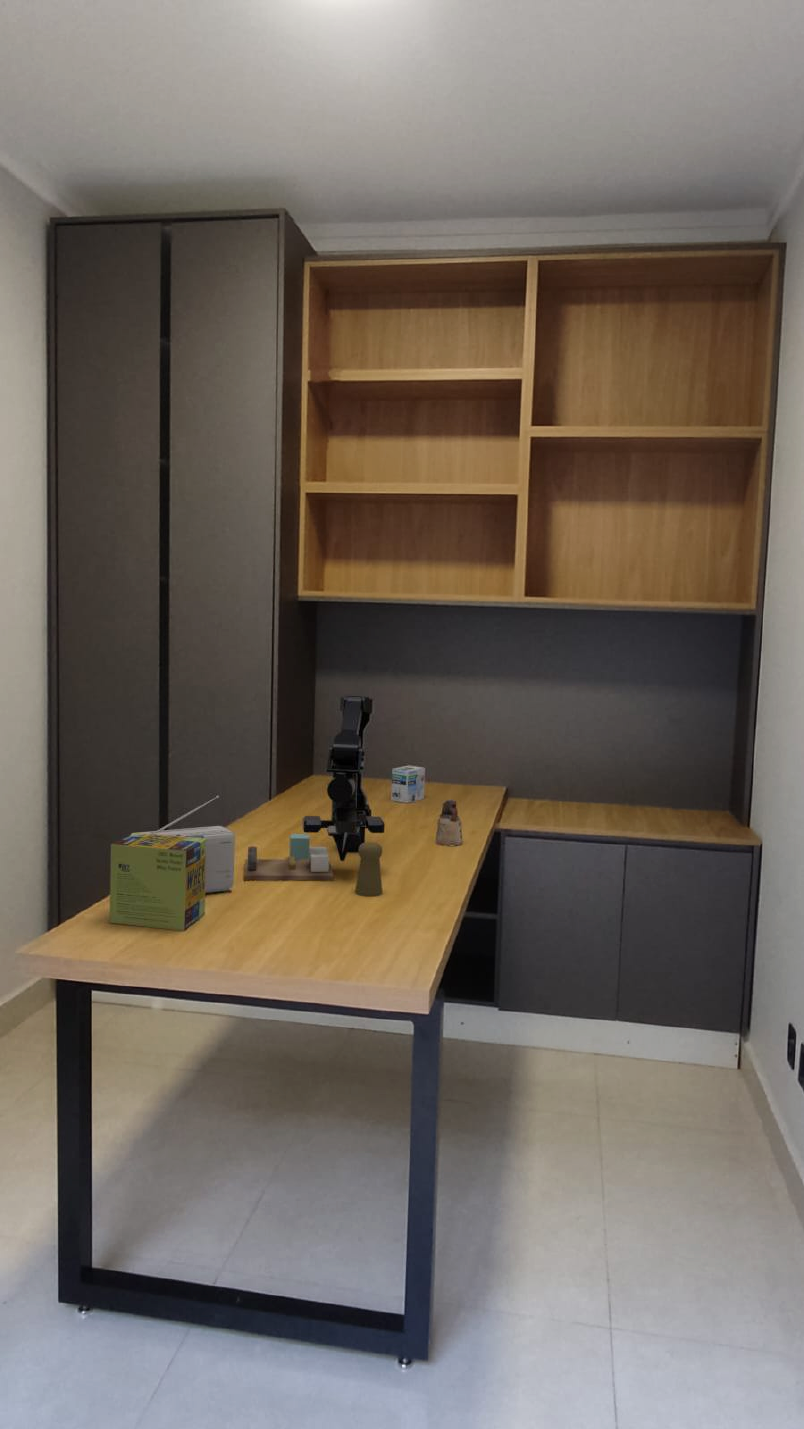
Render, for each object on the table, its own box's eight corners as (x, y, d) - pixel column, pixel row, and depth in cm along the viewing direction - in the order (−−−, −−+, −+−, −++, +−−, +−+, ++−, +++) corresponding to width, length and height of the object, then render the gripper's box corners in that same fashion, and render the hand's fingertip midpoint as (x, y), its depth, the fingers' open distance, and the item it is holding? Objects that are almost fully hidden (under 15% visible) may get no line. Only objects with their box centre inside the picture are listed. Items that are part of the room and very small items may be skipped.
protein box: (185, 931, 177) (186, 850, 175) (108, 923, 179) (109, 843, 178) (206, 914, 187) (208, 837, 185) (133, 907, 190) (134, 831, 188)
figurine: (456, 839, 259) (458, 796, 258) (466, 845, 253) (468, 801, 251) (432, 840, 257) (434, 797, 256) (441, 846, 250) (443, 802, 249)
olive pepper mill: (384, 896, 204) (386, 846, 203) (356, 896, 203) (358, 846, 202) (380, 888, 210) (382, 839, 209) (353, 888, 209) (355, 839, 208)
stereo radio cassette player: (137, 905, 191) (138, 807, 189) (126, 894, 198) (127, 800, 196) (235, 892, 202) (237, 800, 200) (221, 882, 209) (223, 793, 207)
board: (328, 864, 228) (329, 843, 228) (333, 880, 214) (334, 858, 214) (244, 864, 225) (245, 842, 224) (244, 880, 211) (244, 857, 211)
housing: (325, 861, 225) (326, 847, 225) (328, 871, 216) (329, 856, 216) (308, 861, 225) (309, 846, 224) (310, 871, 216) (311, 856, 215)
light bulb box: (407, 803, 306) (408, 770, 305) (390, 800, 310) (391, 768, 309) (424, 799, 315) (426, 767, 314) (407, 796, 319) (409, 764, 318)
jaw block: (307, 857, 233) (308, 834, 233) (308, 862, 229) (309, 838, 228) (289, 857, 233) (290, 834, 232) (290, 862, 228) (290, 838, 228)
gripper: (306, 801, 210) (303, 869, 212) (389, 802, 213) (386, 869, 215) (303, 791, 221) (301, 857, 223) (382, 792, 224) (379, 857, 226)
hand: (342, 860), depth 221 cm, fingers closed
